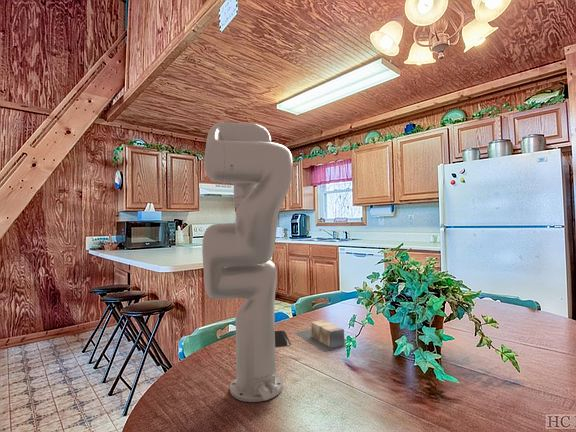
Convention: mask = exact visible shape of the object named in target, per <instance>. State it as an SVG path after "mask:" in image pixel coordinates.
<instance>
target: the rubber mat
mask: <svg viewBox="0 0 576 432" xmlns="http://www.w3.org/2000/svg"><path fill="white" fill-rule="evenodd" d="M294 334H295V335H296V336H298V337H300V338H301V339H302V340H304V341H306V342H307V343H310V345H311V344H312V345H313V346H314V347H316V348H318V349H320V350H321V351H322V352H325V353H326V352H331V351H335V350H339V349H342V348H346V347H345V341H346V340H347V339H346V338H344V345H342V346H338V347H334V348H331V347H329V346H327V345H326V344H324V343H322V342H320V341H319V340H317V339H315V338H313V337H312V331H311V329H306V330H302V331H297V332H294Z"/></svg>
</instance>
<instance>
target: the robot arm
mask: <svg viewBox="0 0 576 432" xmlns="http://www.w3.org/2000/svg"><path fill="white" fill-rule="evenodd" d="M204 150H205V151H204V157H203V158H204V159H203V163H204V171H205V173H206V176H207V177H208V179H210V181H212V182H213V183H219V184H232V185H233V208H234V209H236V211H235V222H233V223H231V222H229V223H227V222H226V223H215V224H211V225H210V226H208V227H207V228H206V230H205V231H204V233H203V238H202V250H201V251H202V264H203V265H202V267H203V269H202V270H203V284H204V290H205V293H206V296H207V297H208V298H210V299H212V300H219V301H220V300H234V299H245V300H244V301H243V302H242V304H241V305H240V307H239V309H238V310H237V312H236V315H235V320H234V321H235V362H236V363H235V371H236V376H235V379H233V380H232V382H231V383H230V385H229V389H230V390H229V392H230V394H231V396H232V397H233V398H235V399H236V400H237V401H241V402H245V403H247V402H248V403H259V402H260V403H261V402H264V401H268V400H271V399H273V398H275V397H277V395H279V394H280V393H281V391H282V390H283V381H282V379H281V377H279V376H278V375H277V373H276V370H277V368H276V364H277V363H276V347H275V331H276V328H275V326H276V324H275V322H276V321H275V304H276V303H275V302H276V301H275V300H276V292H277V291H276V290H277V283H278V268H277V266H276V264H275V263H274V262H273V261H272V260H271V259H272V257H273V255H274V251H275V247H276V246H275V245H276V237H277V229H278V228H277V227H278V219H279V218H278V217H279V213H280V210H281V207H282V206H283V203H284V201H285V198H286V197H287V194H288V192H289V188H290V186H291V182H292V176H293V169H294V168H293V165H294V164H293V162H294V161H293V155H292V153H291V151H290V149H288V147H286V146H285V145H283V144H280V143H277V142H273V141H272V137H271V134H270V132H269V130H268V129H267V128H266V127H264V126H263V125H260V124H257V123H251V122H249V123H248V122H230V121H229V122H226V121H225V122H222V121H220V122H216V123H215V124H213V125H212V126H211V127H210V129H209V130H208V133H207V136H206V143H205V149H204Z"/></svg>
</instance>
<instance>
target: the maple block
mask: <svg viewBox="0 0 576 432" xmlns="http://www.w3.org/2000/svg"><path fill="white" fill-rule="evenodd" d="M310 323H311V325H310V326H311V328H310V330H311V331H312V337H313V338H315V339H317V340H319V341H320V342H322V343H324V344H326V345H327V346H329V347H331V348H334V347H338V346H342V345H344V339H345V329H344V328H342V327H340V326H338V325H336V324H333V323H332V322H328V321H327V320H324V319H320V320H315V321H311V322H310Z"/></svg>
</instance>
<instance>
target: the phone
mask: <svg viewBox="0 0 576 432" xmlns="http://www.w3.org/2000/svg"><path fill="white" fill-rule="evenodd" d="M291 345H292V344H291V341H290V339H289V338H288V336H287V333H286V331H285V330H275V348H282V347H283V348H284V347H290V346H291Z"/></svg>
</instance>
